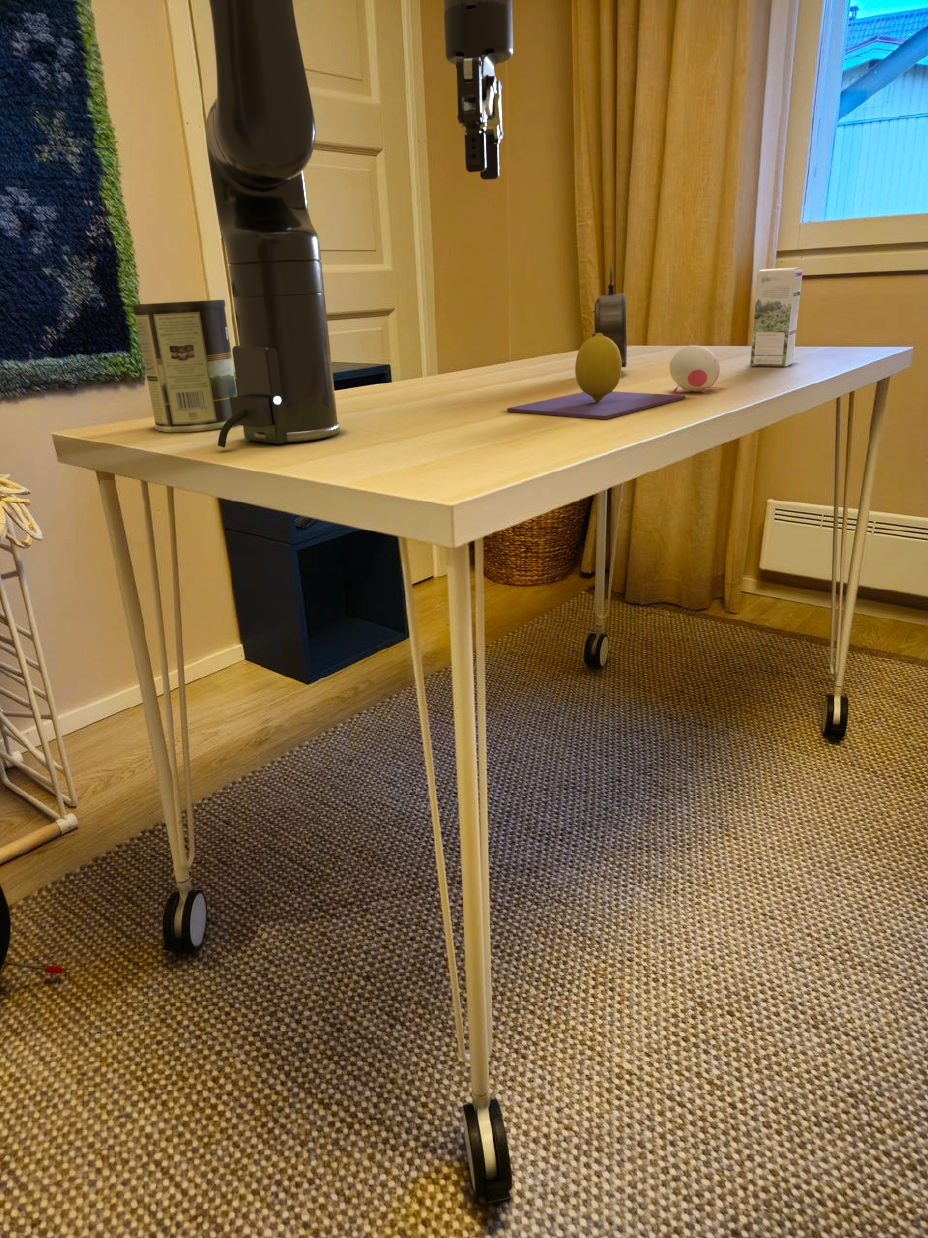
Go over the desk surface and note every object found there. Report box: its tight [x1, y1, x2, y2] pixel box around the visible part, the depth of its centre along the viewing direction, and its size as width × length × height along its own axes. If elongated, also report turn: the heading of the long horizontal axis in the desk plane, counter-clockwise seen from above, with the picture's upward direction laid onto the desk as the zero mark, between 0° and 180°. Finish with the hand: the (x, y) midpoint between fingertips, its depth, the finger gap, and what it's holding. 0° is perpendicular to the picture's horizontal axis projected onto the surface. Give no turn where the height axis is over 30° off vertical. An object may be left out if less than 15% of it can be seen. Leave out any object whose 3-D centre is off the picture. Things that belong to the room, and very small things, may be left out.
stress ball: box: [669, 345, 721, 394], centre depth 108 cm, size 8×8×7 cm
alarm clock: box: [591, 263, 628, 368], centre depth 129 cm, size 11×5×16 cm, turn 168°
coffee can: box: [131, 299, 238, 433], centre depth 98 cm, size 10×10×14 cm
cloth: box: [506, 390, 686, 420], centre depth 101 cm, size 18×14×1 cm
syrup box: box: [749, 266, 803, 367], centre depth 131 cm, size 6×6×14 cm
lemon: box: [574, 333, 623, 402], centre depth 100 cm, size 6×6×8 cm
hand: (483, 175), depth 96 cm, fingers open, 8 cm apart
